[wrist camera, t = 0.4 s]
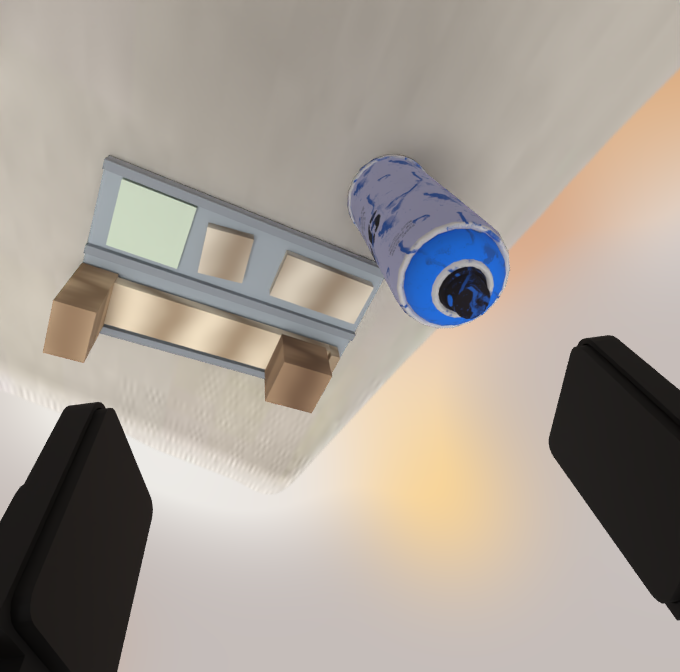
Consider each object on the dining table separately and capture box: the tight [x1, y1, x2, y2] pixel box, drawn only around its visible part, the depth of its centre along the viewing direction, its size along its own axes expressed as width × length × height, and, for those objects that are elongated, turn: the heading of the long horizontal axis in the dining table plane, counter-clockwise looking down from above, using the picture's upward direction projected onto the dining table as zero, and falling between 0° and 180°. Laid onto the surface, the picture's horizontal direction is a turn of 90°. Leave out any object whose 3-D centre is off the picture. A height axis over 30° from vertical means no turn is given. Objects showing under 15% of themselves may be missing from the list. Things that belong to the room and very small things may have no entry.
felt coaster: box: [106, 177, 197, 269], centre depth 40 cm, size 6×6×1 cm
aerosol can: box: [348, 155, 510, 328], centre depth 35 cm, size 8×8×20 cm
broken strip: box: [198, 223, 374, 324], centre depth 44 cm, size 16×5×1 cm, turn 64°
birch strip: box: [43, 263, 340, 373], centre depth 43 cm, size 25×5×7 cm, turn 64°
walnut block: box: [265, 334, 332, 413], centre depth 46 cm, size 5×5×5 cm
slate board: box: [83, 155, 385, 391], centre depth 45 cm, size 26×16×1 cm, turn 64°
